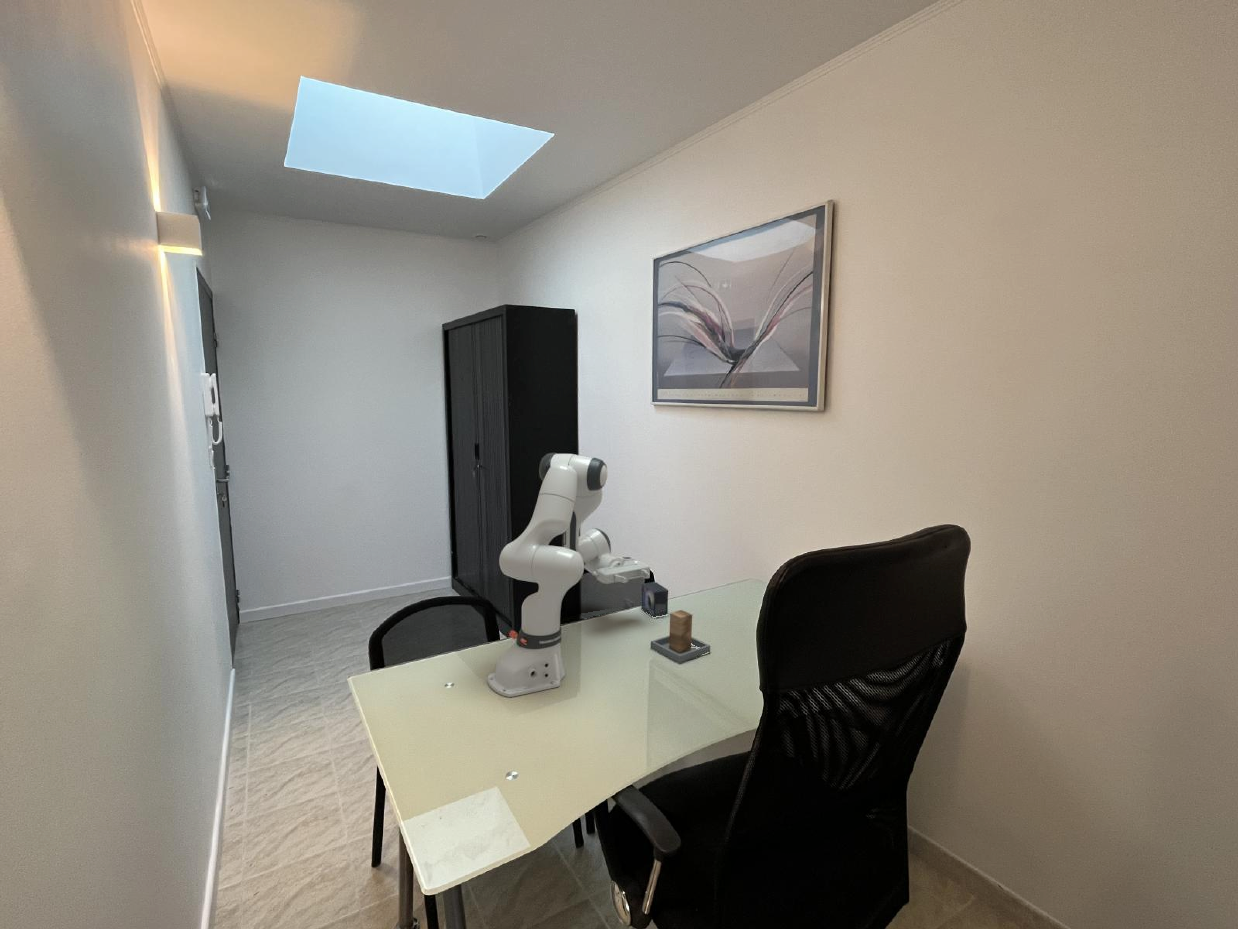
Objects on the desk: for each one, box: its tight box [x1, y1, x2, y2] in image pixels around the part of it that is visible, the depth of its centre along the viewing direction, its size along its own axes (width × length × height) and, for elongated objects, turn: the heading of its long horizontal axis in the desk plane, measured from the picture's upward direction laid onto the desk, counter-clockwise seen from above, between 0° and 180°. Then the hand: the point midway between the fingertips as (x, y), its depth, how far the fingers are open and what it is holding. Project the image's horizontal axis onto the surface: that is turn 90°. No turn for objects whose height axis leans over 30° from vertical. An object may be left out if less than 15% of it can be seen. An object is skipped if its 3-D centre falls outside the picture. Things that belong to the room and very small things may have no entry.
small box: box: [640, 581, 669, 617], centre depth 225 cm, size 11×6×10 cm, turn 25°
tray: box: [650, 635, 711, 665], centre depth 193 cm, size 14×14×2 cm
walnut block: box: [668, 609, 693, 654], centre depth 193 cm, size 5×5×12 cm
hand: (637, 578), depth 203 cm, fingers open, 8 cm apart
